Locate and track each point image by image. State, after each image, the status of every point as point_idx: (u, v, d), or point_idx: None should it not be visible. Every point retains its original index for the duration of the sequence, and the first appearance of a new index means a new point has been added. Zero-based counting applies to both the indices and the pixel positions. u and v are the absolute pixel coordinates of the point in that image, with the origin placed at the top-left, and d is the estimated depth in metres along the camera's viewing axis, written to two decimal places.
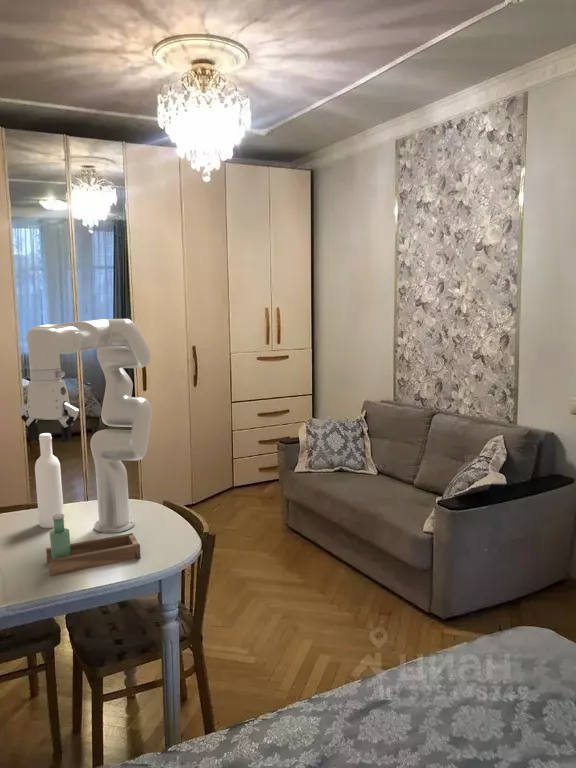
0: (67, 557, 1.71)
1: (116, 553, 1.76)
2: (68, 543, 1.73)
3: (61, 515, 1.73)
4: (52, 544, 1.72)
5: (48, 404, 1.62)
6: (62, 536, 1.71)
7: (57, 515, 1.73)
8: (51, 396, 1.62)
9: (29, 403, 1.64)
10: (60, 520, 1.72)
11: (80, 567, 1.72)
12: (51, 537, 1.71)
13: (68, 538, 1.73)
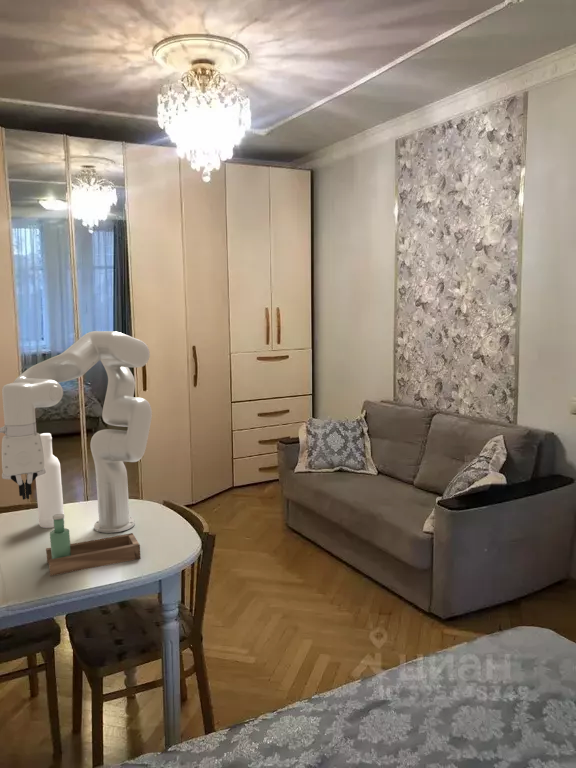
0: (67, 557, 1.71)
1: (116, 553, 1.76)
2: (68, 543, 1.73)
3: (61, 515, 1.73)
4: (52, 544, 1.72)
5: None
6: (62, 536, 1.71)
7: (57, 515, 1.73)
8: None
9: None
10: (60, 520, 1.72)
11: (80, 567, 1.72)
12: (51, 537, 1.71)
13: (68, 538, 1.73)
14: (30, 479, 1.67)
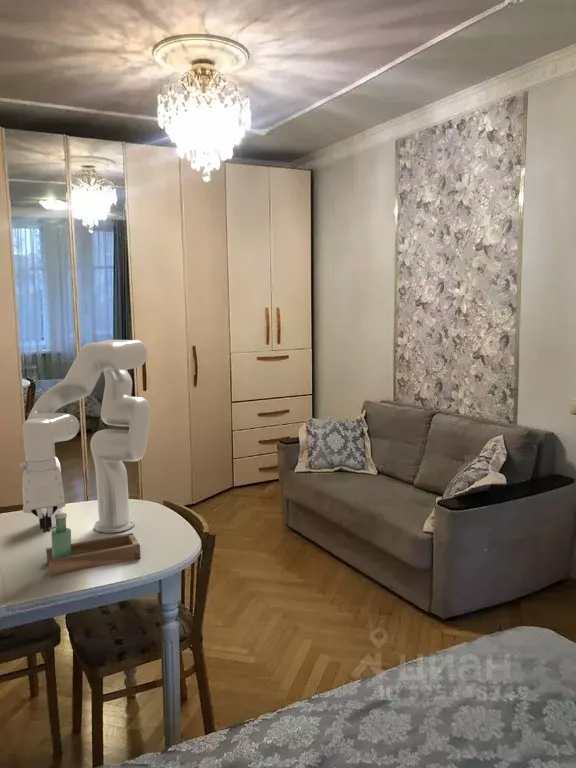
0: (67, 557, 1.71)
1: (116, 553, 1.76)
2: (69, 543, 1.73)
3: (63, 514, 1.73)
4: (53, 543, 1.72)
5: None
6: (63, 535, 1.71)
7: (59, 514, 1.73)
8: None
9: None
10: (62, 520, 1.72)
11: (80, 567, 1.72)
12: (53, 536, 1.72)
13: (69, 538, 1.73)
14: (50, 512, 1.70)
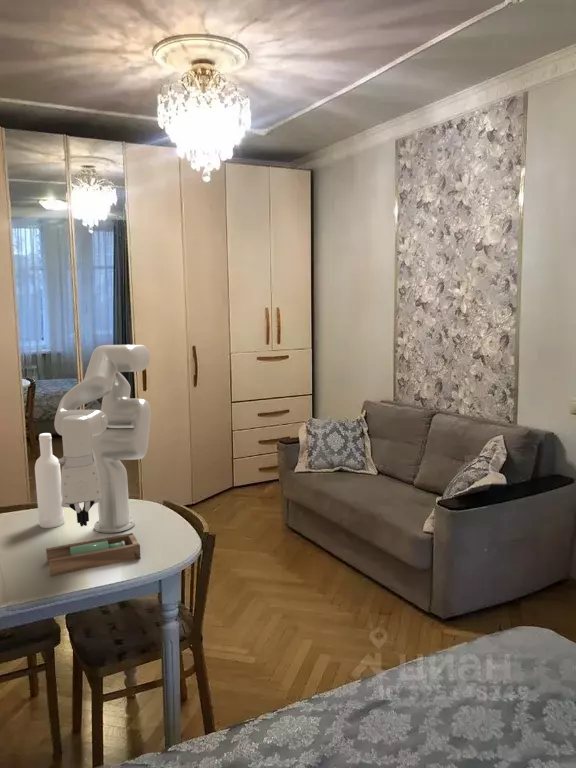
0: (67, 557, 1.71)
1: (116, 553, 1.76)
2: None
3: None
4: (98, 545, 1.77)
5: None
6: None
7: None
8: None
9: None
10: None
11: (80, 567, 1.72)
12: (105, 543, 1.78)
13: None
14: (87, 507, 1.74)
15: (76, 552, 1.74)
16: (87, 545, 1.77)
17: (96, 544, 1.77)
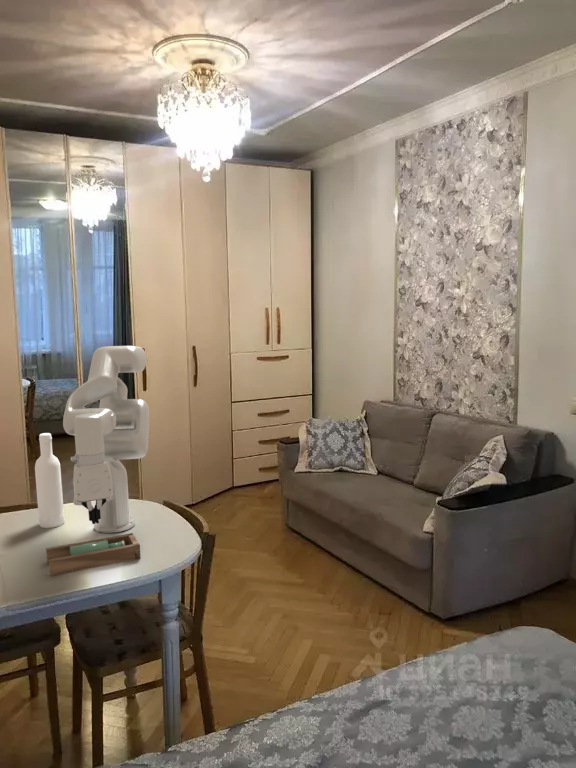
0: (67, 557, 1.71)
1: (116, 553, 1.76)
2: None
3: None
4: (97, 544, 1.78)
5: None
6: None
7: None
8: None
9: None
10: None
11: (80, 567, 1.72)
12: (104, 542, 1.79)
13: None
14: (99, 505, 1.76)
15: (75, 550, 1.75)
16: (87, 544, 1.77)
17: (96, 543, 1.78)
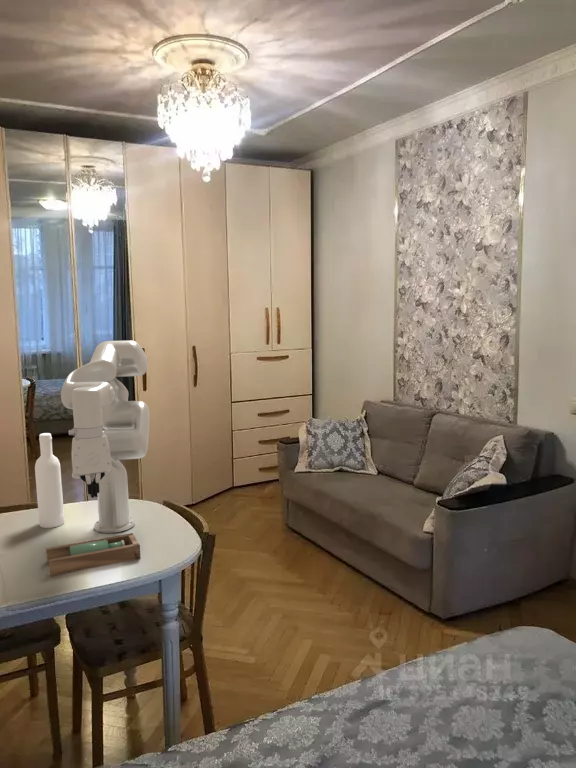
0: (67, 557, 1.71)
1: (116, 553, 1.76)
2: None
3: None
4: (97, 543, 1.78)
5: None
6: None
7: None
8: None
9: None
10: None
11: (80, 567, 1.72)
12: (104, 541, 1.79)
13: None
14: (98, 478, 1.75)
15: (75, 549, 1.75)
16: (86, 543, 1.78)
17: (95, 542, 1.78)
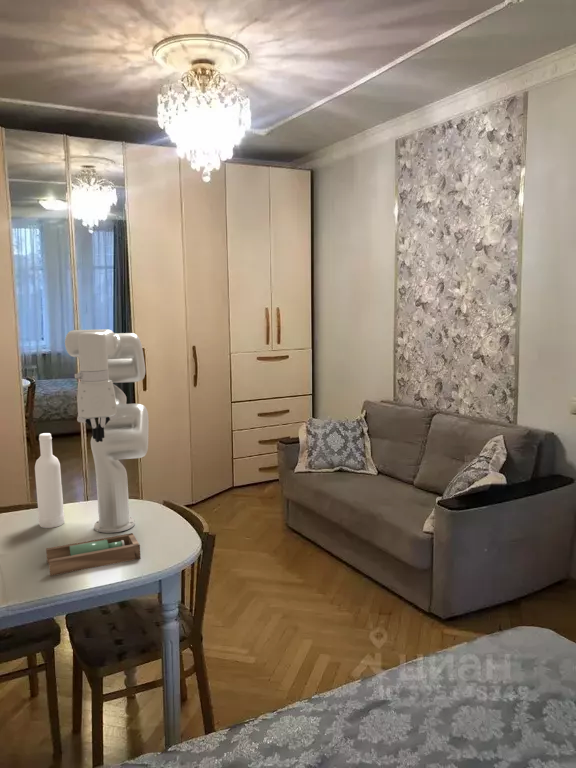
0: (67, 557, 1.71)
1: (116, 553, 1.76)
2: None
3: None
4: (97, 542, 1.78)
5: None
6: None
7: None
8: None
9: None
10: None
11: (80, 567, 1.72)
12: (103, 540, 1.79)
13: None
14: (103, 423, 1.77)
15: (75, 548, 1.75)
16: (86, 543, 1.78)
17: (95, 542, 1.79)
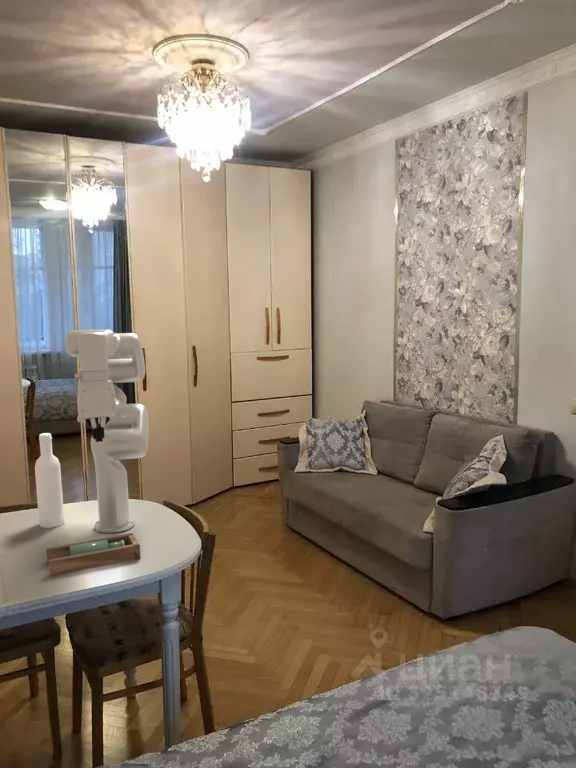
0: (67, 557, 1.71)
1: (116, 553, 1.76)
2: None
3: None
4: (97, 542, 1.78)
5: None
6: None
7: None
8: None
9: None
10: None
11: (80, 567, 1.72)
12: (104, 541, 1.79)
13: None
14: (103, 423, 1.77)
15: (75, 549, 1.75)
16: (86, 543, 1.78)
17: (95, 542, 1.78)
